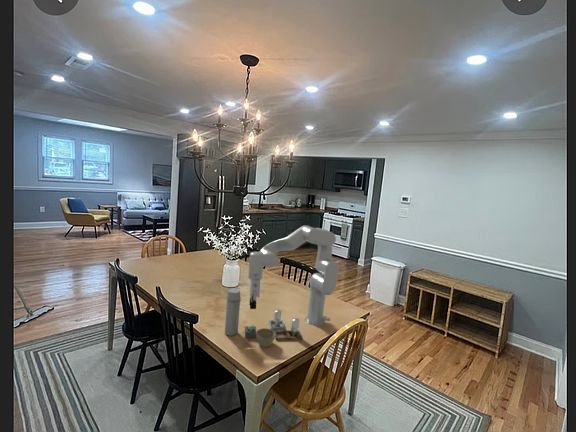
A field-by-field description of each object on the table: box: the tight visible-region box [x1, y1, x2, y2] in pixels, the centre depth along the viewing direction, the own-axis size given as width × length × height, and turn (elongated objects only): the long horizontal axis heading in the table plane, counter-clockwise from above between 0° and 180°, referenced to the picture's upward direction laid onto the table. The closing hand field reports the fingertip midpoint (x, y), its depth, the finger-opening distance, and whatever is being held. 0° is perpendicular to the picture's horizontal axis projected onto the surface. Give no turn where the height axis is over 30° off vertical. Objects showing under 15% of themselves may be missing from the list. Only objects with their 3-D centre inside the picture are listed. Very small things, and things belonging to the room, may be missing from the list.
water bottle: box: [224, 287, 242, 337], centre depth 169 cm, size 9×8×25 cm
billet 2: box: [290, 317, 300, 337], centre depth 171 cm, size 4×4×10 cm
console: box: [244, 325, 257, 339], centre depth 170 cm, size 6×6×4 cm
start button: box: [248, 324, 255, 331], centre depth 169 cm, size 3×3×3 cm
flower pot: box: [256, 327, 275, 348], centre depth 162 cm, size 10×10×7 cm
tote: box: [268, 319, 286, 331], centre depth 181 cm, size 8×8×3 cm
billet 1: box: [272, 308, 282, 327], centre depth 180 cm, size 4×4×10 cm
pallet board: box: [273, 329, 303, 341], centre depth 171 cm, size 14×7×3 cm, turn 101°
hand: (252, 306), depth 167 cm, fingers open, 3 cm apart
